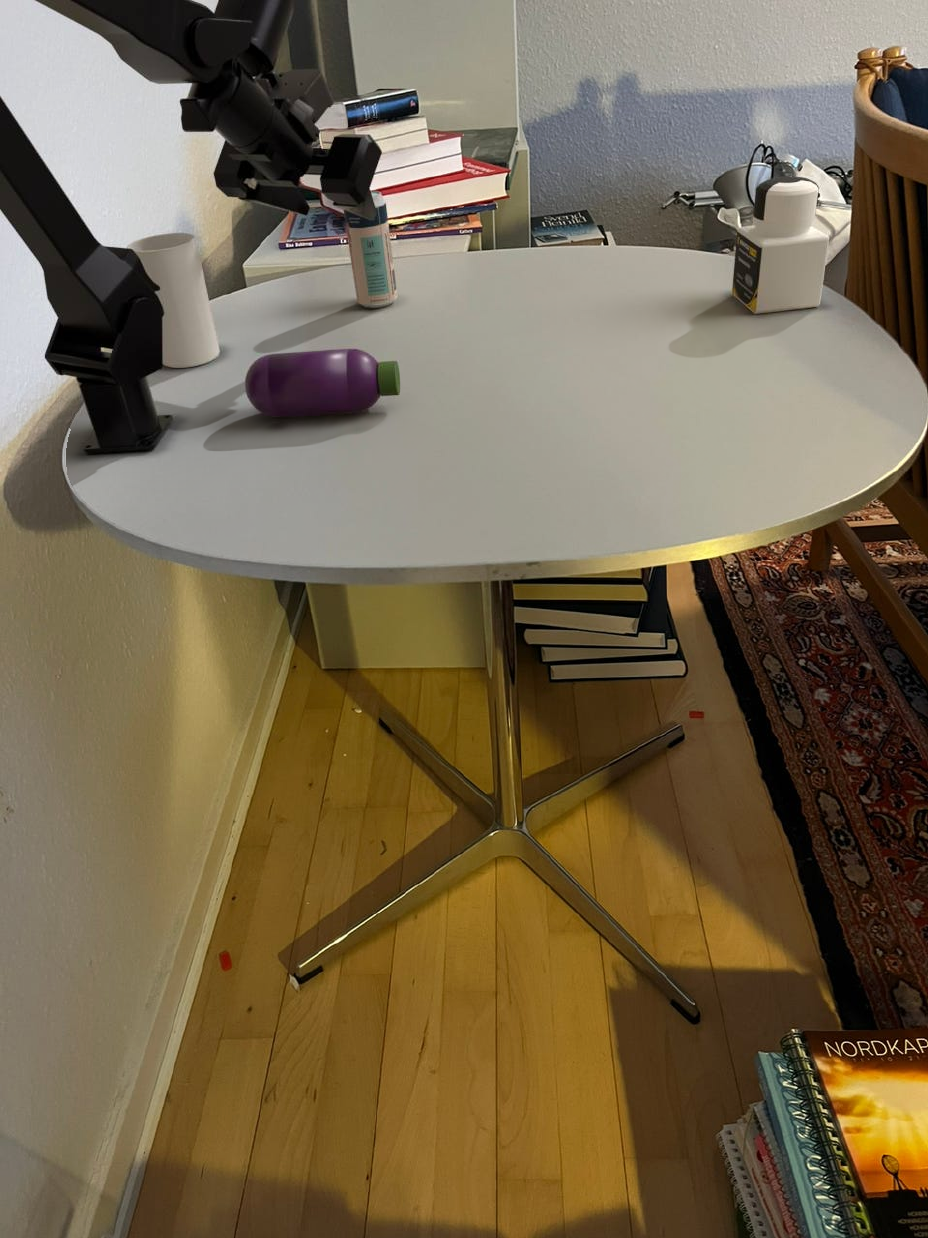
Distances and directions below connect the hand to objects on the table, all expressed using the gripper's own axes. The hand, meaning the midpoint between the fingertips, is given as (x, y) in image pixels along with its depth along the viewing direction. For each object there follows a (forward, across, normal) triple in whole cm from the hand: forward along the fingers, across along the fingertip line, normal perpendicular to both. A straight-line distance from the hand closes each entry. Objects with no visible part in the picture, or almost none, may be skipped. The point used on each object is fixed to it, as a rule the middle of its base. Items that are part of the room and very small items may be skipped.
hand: (340, 213), depth 102 cm
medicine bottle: (+21, -43, -5) cm, 48 cm away
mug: (-3, +10, +19) cm, 22 cm away
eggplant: (-9, -14, +24) cm, 29 cm away
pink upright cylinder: (+11, 0, +5) cm, 12 cm away
